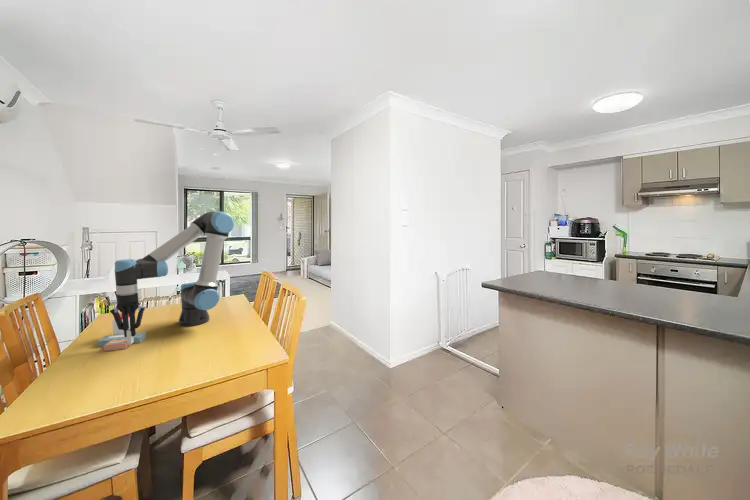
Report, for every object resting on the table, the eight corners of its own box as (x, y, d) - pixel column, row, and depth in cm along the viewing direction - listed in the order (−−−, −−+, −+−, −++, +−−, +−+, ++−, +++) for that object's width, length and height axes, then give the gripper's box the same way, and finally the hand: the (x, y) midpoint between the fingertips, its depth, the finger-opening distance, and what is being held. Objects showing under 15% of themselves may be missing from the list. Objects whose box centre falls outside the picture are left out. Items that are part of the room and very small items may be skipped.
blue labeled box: (146, 337, 146) (145, 332, 146) (139, 342, 140) (139, 337, 140) (106, 340, 141) (106, 335, 141) (98, 346, 135) (97, 341, 134)
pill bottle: (137, 334, 150) (135, 313, 148) (119, 340, 142) (118, 318, 141) (127, 332, 152) (125, 311, 151) (109, 337, 145) (107, 316, 144)
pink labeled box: (132, 343, 139) (131, 338, 138) (125, 348, 133) (125, 343, 133) (111, 345, 136) (110, 340, 136) (104, 351, 130) (103, 345, 130)
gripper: (147, 290, 139) (150, 338, 141) (113, 292, 135) (117, 341, 137) (141, 294, 132) (144, 344, 134) (105, 296, 128) (108, 348, 130)
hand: (130, 343), depth 136 cm, fingers closed
